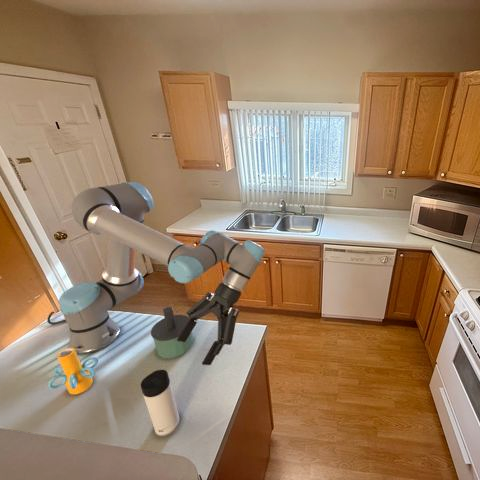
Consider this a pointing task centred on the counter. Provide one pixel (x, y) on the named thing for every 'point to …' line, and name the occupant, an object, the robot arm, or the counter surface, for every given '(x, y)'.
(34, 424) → the counter surface
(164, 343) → the cup
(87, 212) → the robot arm
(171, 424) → the travel mug
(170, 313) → the lid
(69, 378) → the orange toy with loops
